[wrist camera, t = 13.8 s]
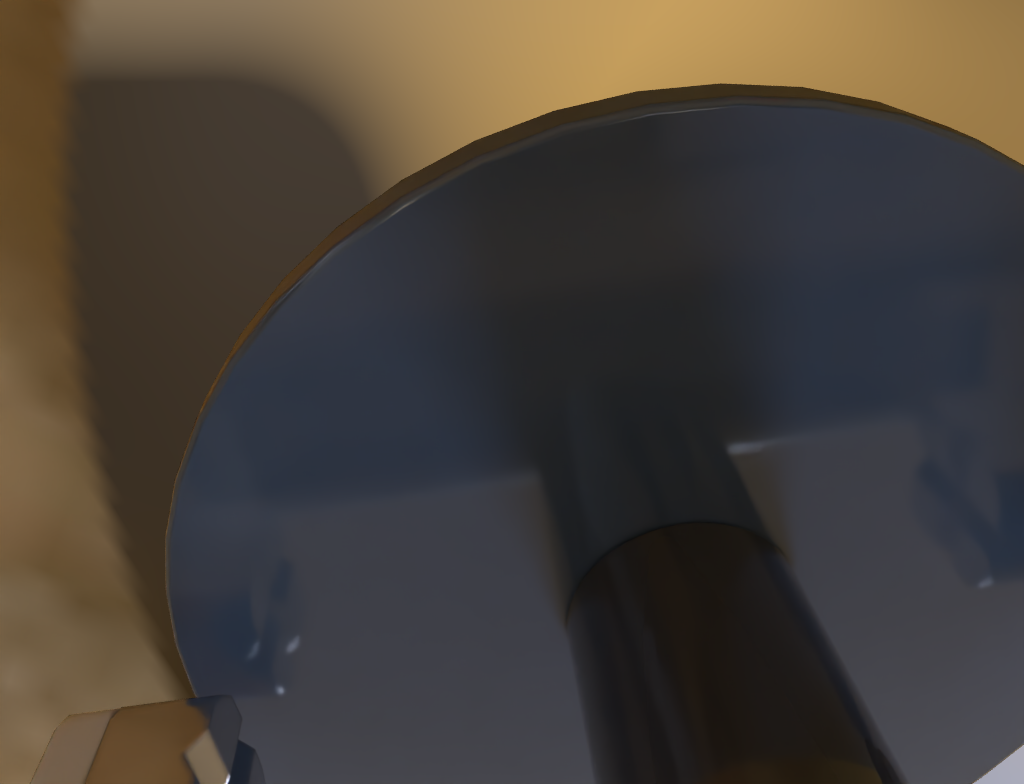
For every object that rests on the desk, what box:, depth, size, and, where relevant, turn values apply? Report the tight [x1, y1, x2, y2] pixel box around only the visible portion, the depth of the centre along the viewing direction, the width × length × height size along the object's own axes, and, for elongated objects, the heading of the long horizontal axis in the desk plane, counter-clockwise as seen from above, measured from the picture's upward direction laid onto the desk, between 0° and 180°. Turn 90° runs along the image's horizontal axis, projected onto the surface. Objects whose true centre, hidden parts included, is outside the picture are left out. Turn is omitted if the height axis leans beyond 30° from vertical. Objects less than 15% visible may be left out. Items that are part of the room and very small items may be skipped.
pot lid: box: [165, 84, 1024, 784], centre depth 8 cm, size 10×10×4 cm
